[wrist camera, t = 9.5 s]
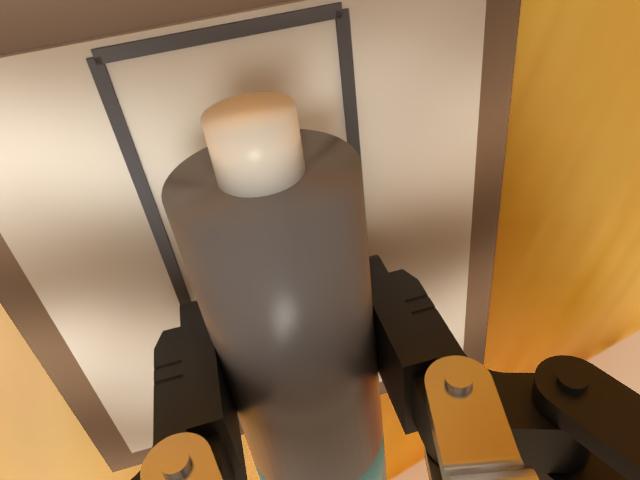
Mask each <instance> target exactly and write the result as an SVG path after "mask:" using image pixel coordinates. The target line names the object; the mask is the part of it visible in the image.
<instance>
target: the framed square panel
mask: <svg viewBox="0 0 640 480" xmlns="http://www.w3.org/2000/svg"><path fill="white" fill-rule="evenodd" d="M520 5H521V0H0V303H1V304H2V306H3V307H4V309H5V311H6V312H7V314H8V315H9V317H10V318H11V320H12V321H13V323H14V324H15V326H16V327H17V329H18V330H19V332H20V333H21V335H22V336H23V338H24V339H25V341H26V342H27V344H28V345H29V347H30V348H31V350H32V351H33V353H34V354H35V356H36V357H37V359H38V360H39V362H40V363H41V365H42V366H43V368H44V369H45V371H46V372H47V374H48V375H49V377H50V378H51V380H52V381H53V383H54V384H55V386H56V387H57V389H58V390H59V392H60V393H61V395H62V396H63V398H64V399H65V401H66V402H67V404H68V405H69V407H70V408H71V410H72V411H73V413H74V414H75V416H76V417H77V419H78V420H79V422H80V423H81V425H82V427H83V428H84V430H85V431H86V433H87V434H88V436H89V437H90V439H91V440H92V442H93V443H94V445H95V446H96V448H97V449H98V451H99V452H100V454H101V455H102V457H103V458H104V460H105V461H106V463H107V464H108V466H109V467H110V469H111V470H112V472H115V471H119V470H122V469H125V468H129V467H132V466H136V465H139V464H143V461H144V459H145V458H146V456H147V454H148V453H149V452H150V450H151V449H152V446H153V401H154V348H155V346H156V344H157V342H158V340H159V338H160V336H161V334H162V332H163V331H165V330H169V329H173V328H176V327H180V304H184V303H188V302H192V301H196V300H197V299H196V296H195V294H194V291H193V288H192V285H191V282H190V280H189V277H188V274H187V271H186V268H185V265H184V263H183V260H182V257H181V254H180V251H179V249H178V246H177V243H176V240H175V237H174V234H173V232H172V229H171V226H170V223H169V220H168V218H167V215H166V212H165V209H164V206H163V204H162V198H161V194H162V188H163V185H164V183H165V181H166V179H167V178H168V176H169V175H170V173H171V172H172V171H173V170H174V169H175V168H176V167H177V166H178V165H179V164H180V163H181V162H183V161H184V160H185V159H187V158H188V157H190V156H191V155H193V154H194V153H196V152H198V151H200V150H202V149H204V148H205V147H207V143H206V139H205V136H204V132H203V128H202V125H201V121H200V118H201V115H202V114H203V112H204V111H205V110H206V109H207V108H209V107H210V106H212V105H213V104H215V103H217V102H219V101H221V100H224V99H226V98H229V97H233V96H236V95H241V94H246V93H252V92H277V93H282V94H286V95H288V96H290V97H292V98H293V99H294V101H295V103H296V109H297V115H298V122H299V128H300V129H308V130H315V131H320V132H325V133H328V134H331V135H334V136H336V137H339V138H341V139H343V140H344V141H346V142H348V143H349V144H350V145H351V146H352V147H353V148H354V149H355V150H356V151H357V153H358V155H359V157H360V160H361V165H362V177H363V190H364V202H365V214H366V227H367V239H368V252H369V256H373V255H378V256H379V257H380V258H381V260H382V262H383V264H384V265H385V267H386V269H387V271H388V272H393V271H396V270H400V269H403V270H405V271H406V272H408V273H409V274H411V275H412V276H414V277H415V278H417V279H418V280H419V281H420V283H421V285H422V286H423V288H424V289H425V291H426V293H427V294H428V297H430V299H431V301H432V302H433V304H434V305H435V308H436V309H437V310H438V312H439V313H440V315H441V316H442V318H443V320H444V321H445V323H446V324H447V326H448V328H449V329H450V331H451V332H452V334H453V335H454V337H455V339H456V340H457V342H458V343H459V345H460V347H461V348H462V350H463V351H464V353H465V354H466V355H467V356H468V357H469V358H471V359H474V360H476V361H478V362H479V363H481V364H482V365H483V364H484V354H485V345H486V335H487V325H488V316H489V306H490V296H491V286H492V277H493V267H494V257H495V248H496V238H497V228H498V218H499V209H500V199H501V189H502V180H503V170H504V160H505V150H506V141H507V131H508V121H509V112H510V102H511V92H512V82H513V73H514V63H515V53H516V44H517V34H518V24H519V14H520ZM378 376H379V388H380V394H384V393H387V391H386V388H385V386H384V384H383V381H382V379H381V377H380V375H379V372H378ZM238 420H239V417H238ZM239 427H240V433H241V435H242V434H244V431H243V429H242V426H241V423H240V420H239Z"/></svg>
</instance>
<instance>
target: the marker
mask: <svg viewBox="0 0 640 480" xmlns="http://www.w3.org/2000/svg"><path fill="white" fill-rule="evenodd" d="M200 121H201V125H202V128H203V132H204V136H205V139H206V143H207V147H205V148H204V149H202V150H200V151H198V152H196V153H194V154H193V155H191V156H190V157H188V158H187V159H185V160H184V161H183V162H181V163H180V164H179V165H178V166H177V167H176V168H175V169H174V170H173V171H172V172H171V173H170V175H169V176H168V178H167V179H166V181H165V183H164V185H163V188H162V194H161V198H162V204H163V206H164V209H165V212H166V215H167V218H168V220H169V223H170V226H171V229H172V232H173V234H174V237H175V240H176V243H177V246H178V249H179V251H180V254H181V257H182V260H183V263H184V265H185V268H186V271H187V274H188V277H189V280H190V282H191V285H192V288H193V291H194V294H195V296H196V299H197V302H198V305H199V308H200V310H201V313H202V316H203V319H204V322H205V325H206V327H207V330H208V333H209V336H210V338H211V341H212V343H213V346H214V347H215V350H216V353H217V355H218V358H219V361H220V364H221V367H222V369H223V372H224V375H225V378H226V381H227V384H228V386H229V389H230V392H231V395H232V398H233V401H234V403H235V406H236V409H237V413H238V417H239V420H240V423H241V426H242V429H243V431H244V434H245V437H246V440H247V443H248V446H249V448H250V451H251V454H252V457H253V460H254V462H255V465H256V468H257V471H258V474H259V477H260V479H261V480H387V475H386V463H385V450H384V438H383V425H382V413H381V401H380V388H379V376H378V365H377V353H376V340H375V328H374V316H373V301H372V289H371V276H370V264H369V252H368V239H367V227H366V214H365V202H364V190H363V177H362V165H361V160H360V157H359V155H358V153H357V151H356V150H355V149H354V148H353V147H352V146H351V145H350V144H349V143H348V142H346V141H344V140H343V139H341V138H339V137H336V136H334V135H331V134H328V133H325V132H320V131H315V130H308V129H300V128H299V122H298V115H297V109H296V103H295V101H294V99H293V98H292V97H290V96H288V95H286V94H282V93H277V92H252V93H246V94H241V95H236V96H233V97H229V98H226V99H224V100H221V101H219V102H217V103H215V104H213V105H212V106H210V107H209V108H207V109H206V110H205V111H204V112H203V114H202V115H201V118H200Z"/></svg>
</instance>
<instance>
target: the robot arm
mask: <svg viewBox="0 0 640 480" xmlns="http://www.w3.org/2000/svg"><path fill="white" fill-rule="evenodd" d="M369 264H370V276H371V289H372V301H373V316H374V328H375V340H376V353H377V365H378V372H379V375H380V377H381V379H382V381H383V384H384V386H385V388H386V391H387V393H388V395H389V397H390V400H391V402H392V404H393V407H394V409H395V411H396V414H397V416H398V418H399V420H400V423H401V425H402V427H403V430H404V432H405V434H410V433H413V432H416V431H418V432H419V434H420V437H421V439H422V441H423V443H424V454H425V461H426V466H427V471H428V476H429V480H640V395H639V394H638V393H636V392H635V391H633V390H631V389H630V388H628V387H627V386H625V385H624V384H622V383H621V382H619V381H617V380H616V379H614V378H613V377H611V376H610V375H608V374H607V373H605V372H603V371H602V370H601V369H599V368H597V367H596V366H594V365H593V364H591V363H589V362H587V361H585V360H583V359H580V358H577V357H573V356H564V355H561V356H554V357H550V358H547V359H545V360H544V361H542V362H541V363H540V364H539V365H538V367H537V368H536V371H535V373H501V372H495V371H491V370H488V369H486V368H485V367H484V366H483V365H482V364H481V363H479V362H478V361H476V360H474V359H471V358H469V357H468V356H467V355H466V354H465V353H464V351H463V350H462V348H461V347H460V345H459V343H458V342H457V340H456V339H455V337H454V335H453V334H452V332H451V331H450V329H449V328H448V326H447V324H446V323H445V321H444V320H443V318H442V316H441V315H440V313H439V312H438V310H437V309H436V308H435V305H434V304H433V302H432V301H431V299H430V297H428V294H427V293H426V291H425V289H424V288H423V286H422V285H421V283H420V281H419V280H418V279H417V278H415V277H414V276H412V275H411V274H409V273H408V272H406V271H405V270H403V269H400V270H396V271H393V272H388V271H387V269H386V267H385V265H384V264H383V262H382V260H381V258H380V257H379V256H378V255H373V256H369ZM131 480H247V474H246V467H245V461H244V454H243V447H242V440H241V433H240V427H239V420H238V413H237V409H236V406H235V403H234V401H233V398H232V395H231V392H230V389H229V386H228V384H227V381H226V378H225V375H224V372H223V369H222V367H221V364H220V361H219V358H218V355H217V353H216V350H215V347H214V346H213V343H212V341H211V338H210V336H209V333H208V330H207V327H206V325H205V322H204V319H203V316H202V313H201V310H200V308H199V305H198V302H197V300H196V301H192V302H188V303H184V304H180V327H176V328H173V329H169V330H165V331H163V332H162V334H161V336H160V338H159V340H158V342H157V344H156V346H155V348H154V401H153V446H152V449H151V450H150V452H149V453H148V454H147V456H146V458H145V459H144V461H143V464H142V467H141V470H140V471H139V472H138V473H137V475H136V476H135V477H133V478H132V479H131Z"/></svg>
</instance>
